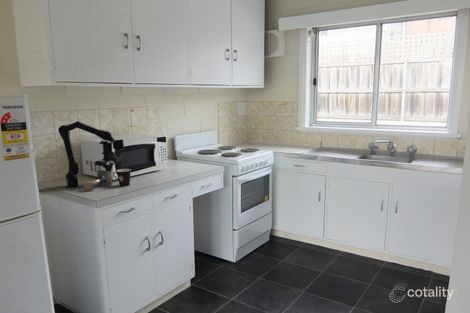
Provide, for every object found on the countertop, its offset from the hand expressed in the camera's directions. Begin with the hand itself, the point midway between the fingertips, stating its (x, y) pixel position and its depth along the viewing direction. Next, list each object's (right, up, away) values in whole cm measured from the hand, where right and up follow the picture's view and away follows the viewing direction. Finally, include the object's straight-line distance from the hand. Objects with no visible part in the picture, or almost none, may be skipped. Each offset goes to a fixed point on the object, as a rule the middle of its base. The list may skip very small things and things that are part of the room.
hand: (109, 173), depth 239 cm
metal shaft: (-4, -8, -8) cm, 12 cm away
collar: (-2, -7, -4) cm, 8 cm away
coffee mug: (+10, -7, -3) cm, 13 cm away
